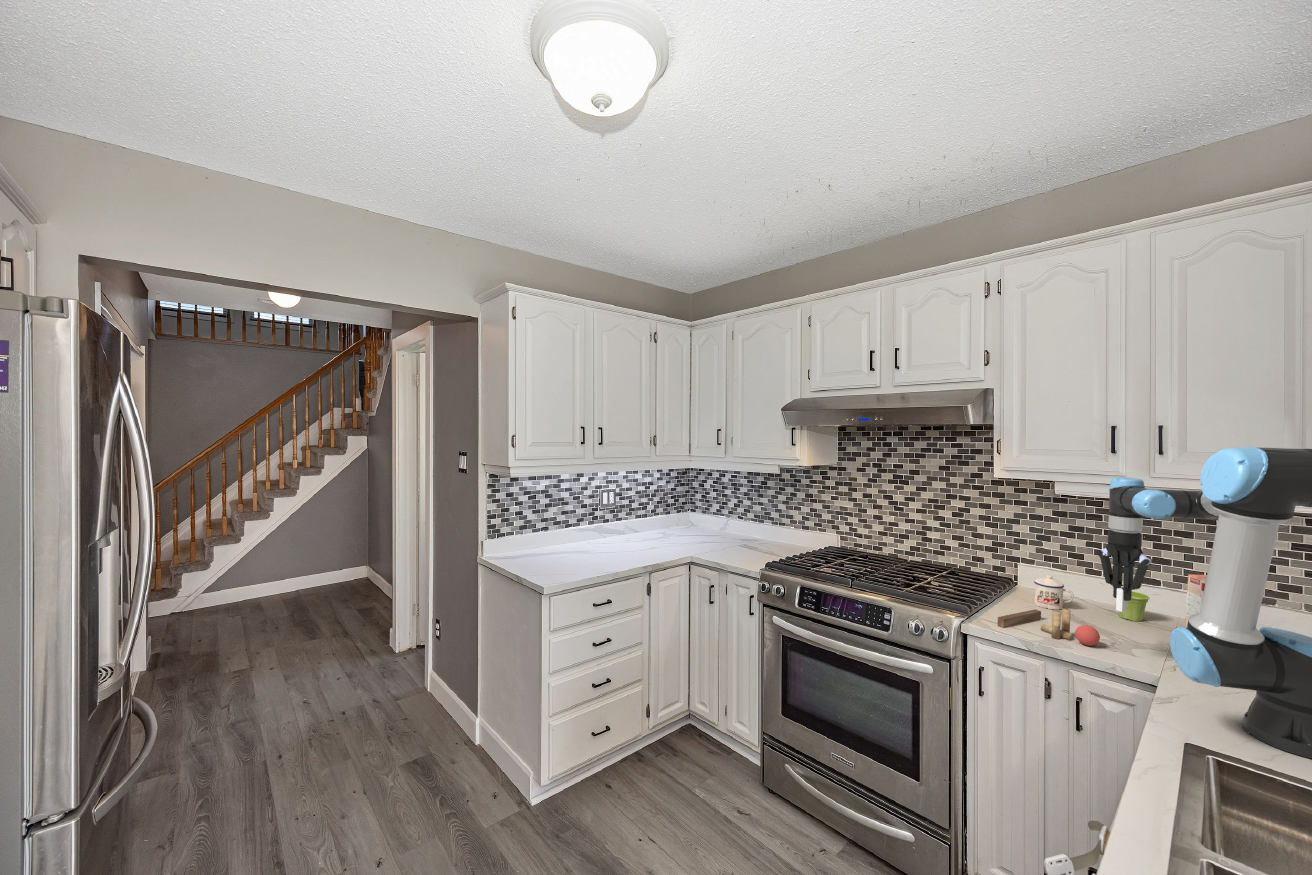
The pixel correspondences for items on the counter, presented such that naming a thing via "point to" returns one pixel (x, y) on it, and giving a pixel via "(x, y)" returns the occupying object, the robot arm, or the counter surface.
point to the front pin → (1062, 633)
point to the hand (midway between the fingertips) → (1121, 610)
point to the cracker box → (1194, 595)
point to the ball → (1087, 635)
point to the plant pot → (1135, 607)
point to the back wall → (1019, 618)
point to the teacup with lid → (1050, 593)
